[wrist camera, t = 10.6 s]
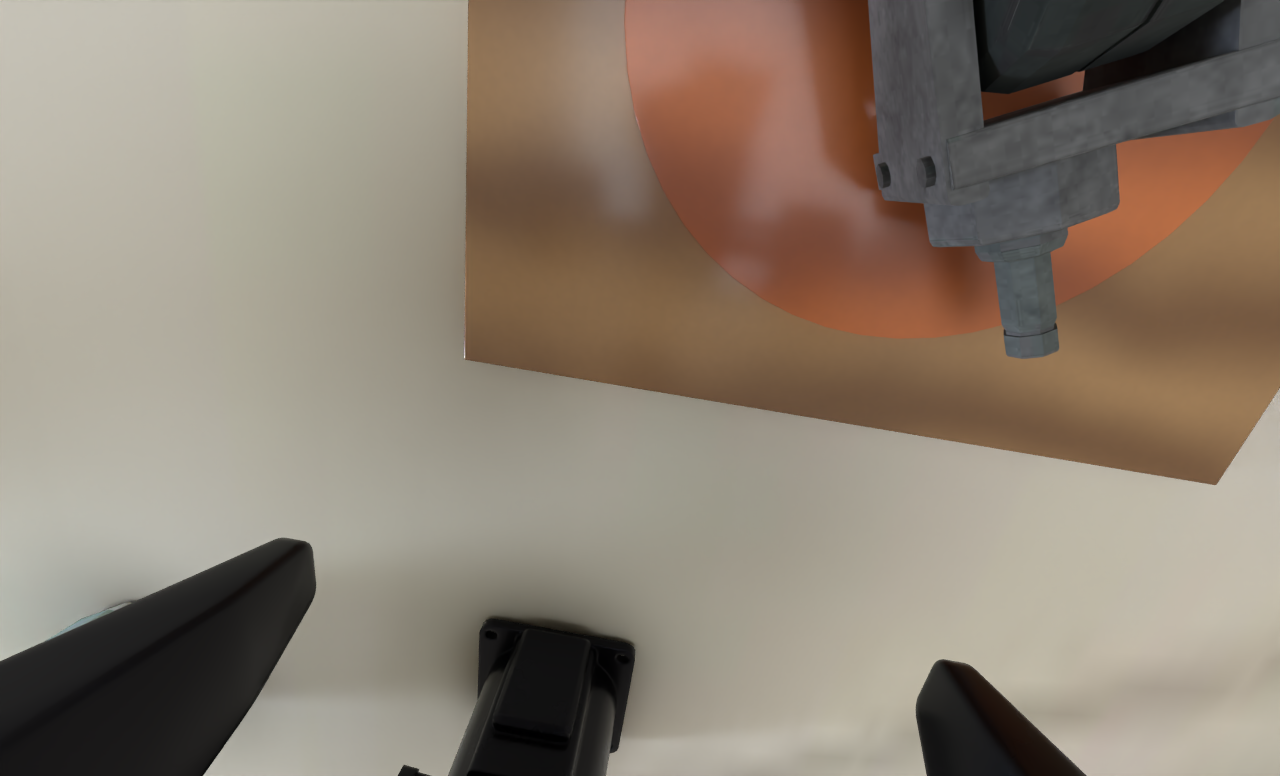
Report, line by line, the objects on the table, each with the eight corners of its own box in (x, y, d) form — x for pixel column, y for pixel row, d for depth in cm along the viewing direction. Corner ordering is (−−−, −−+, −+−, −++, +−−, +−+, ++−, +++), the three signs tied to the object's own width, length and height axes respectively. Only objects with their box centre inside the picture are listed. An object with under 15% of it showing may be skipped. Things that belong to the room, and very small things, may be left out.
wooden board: (1197, 472, 19) (1221, 489, 18) (472, 351, 20) (461, 362, 19) (1891, -629, 10) (2009, -703, 9) (492, -766, 11) (473, -848, 10)
